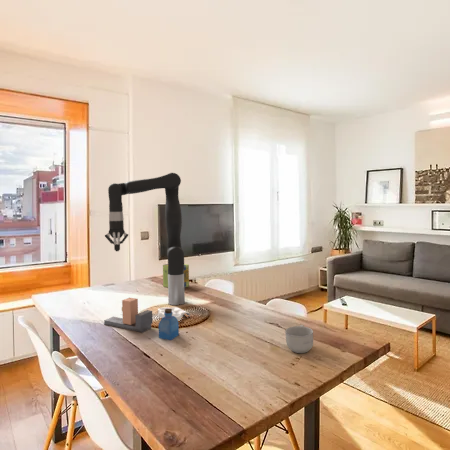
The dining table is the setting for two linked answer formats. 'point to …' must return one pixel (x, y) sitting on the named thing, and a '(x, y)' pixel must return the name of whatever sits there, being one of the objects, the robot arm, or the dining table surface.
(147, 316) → the rail
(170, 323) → the perfume bottle
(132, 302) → the carriage
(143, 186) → the robot arm
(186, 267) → the protein box
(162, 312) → the white brass knuckles
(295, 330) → the teacup
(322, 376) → the dining table surface
